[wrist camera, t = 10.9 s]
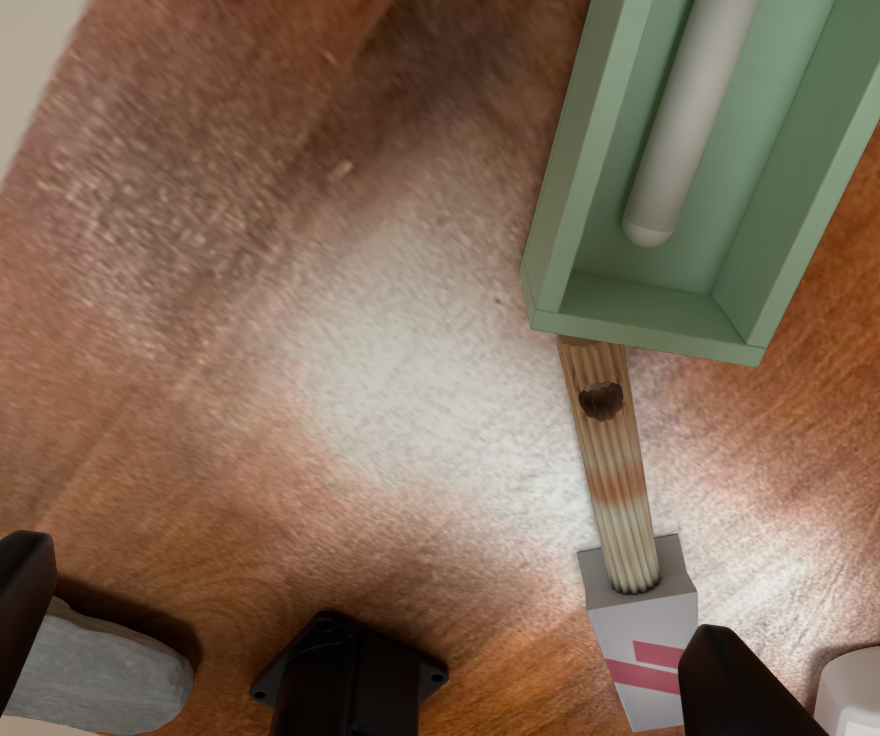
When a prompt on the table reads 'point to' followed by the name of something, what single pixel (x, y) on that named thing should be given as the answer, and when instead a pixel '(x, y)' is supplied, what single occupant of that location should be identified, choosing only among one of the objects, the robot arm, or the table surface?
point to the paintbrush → (627, 544)
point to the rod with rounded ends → (686, 117)
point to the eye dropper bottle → (850, 694)
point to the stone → (99, 676)
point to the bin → (700, 178)
